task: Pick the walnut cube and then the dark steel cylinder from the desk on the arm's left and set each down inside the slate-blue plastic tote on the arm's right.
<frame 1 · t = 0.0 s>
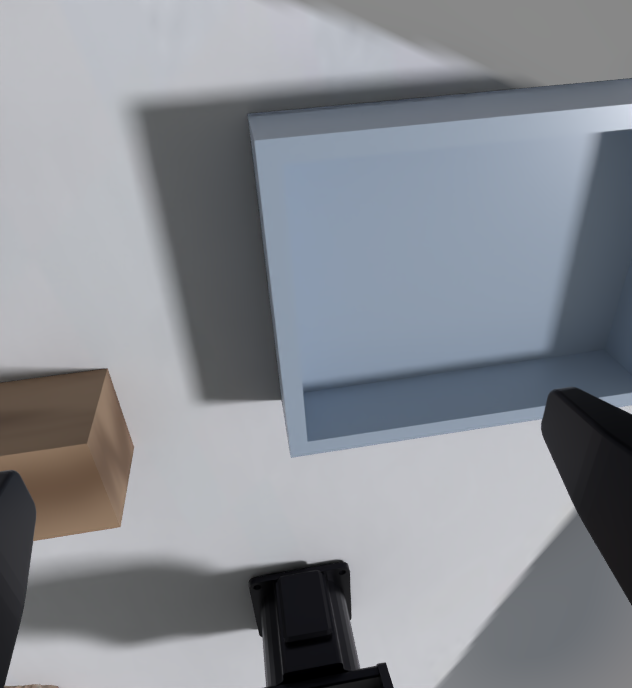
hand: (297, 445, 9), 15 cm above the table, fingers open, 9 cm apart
walnut cube: (68, 416, 26), on the table
tote: (462, 256, 25), on the table
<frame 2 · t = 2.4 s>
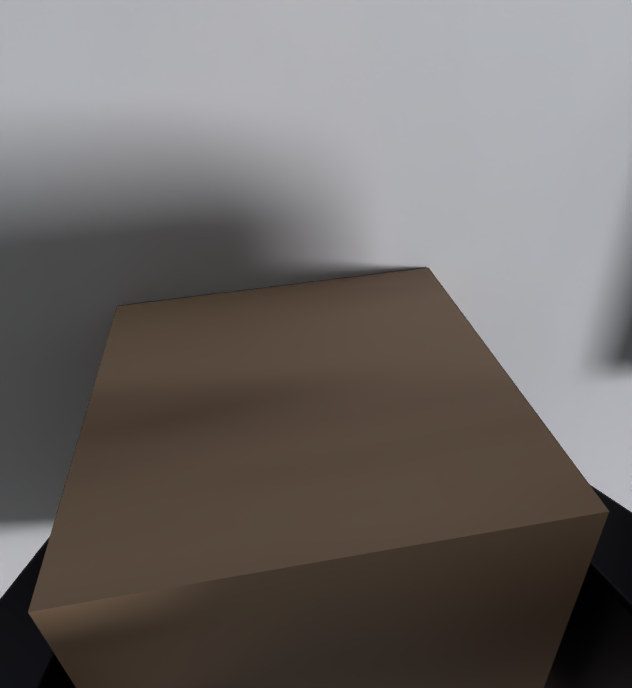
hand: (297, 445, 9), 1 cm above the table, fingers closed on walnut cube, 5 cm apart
walnut cube: (290, 405, 10), on the table, touching gripper
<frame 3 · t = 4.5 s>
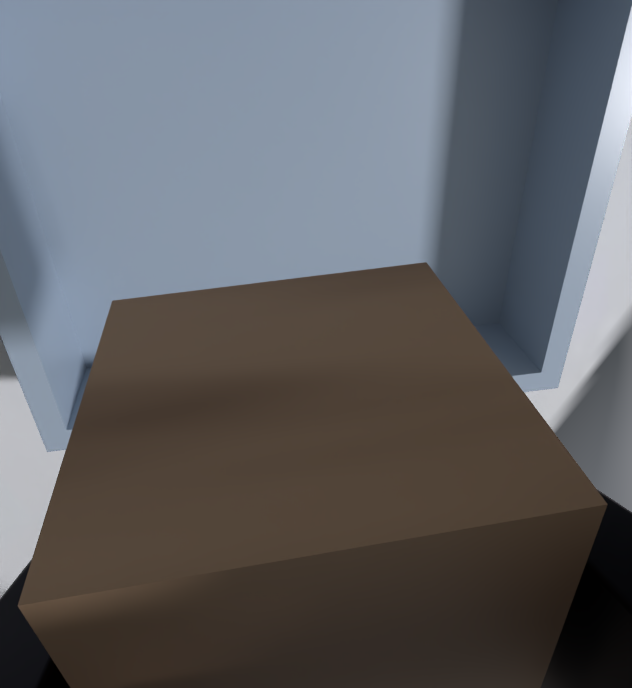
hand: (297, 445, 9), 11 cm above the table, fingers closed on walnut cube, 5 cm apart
walnut cube: (287, 401, 10), point 10 cm above the table, touching gripper
tote: (292, 184, 18), on the table
when the fingers open (4 cm above the table, at t = 6.5 s): walnut cube drops 3 cm, resting on tote.
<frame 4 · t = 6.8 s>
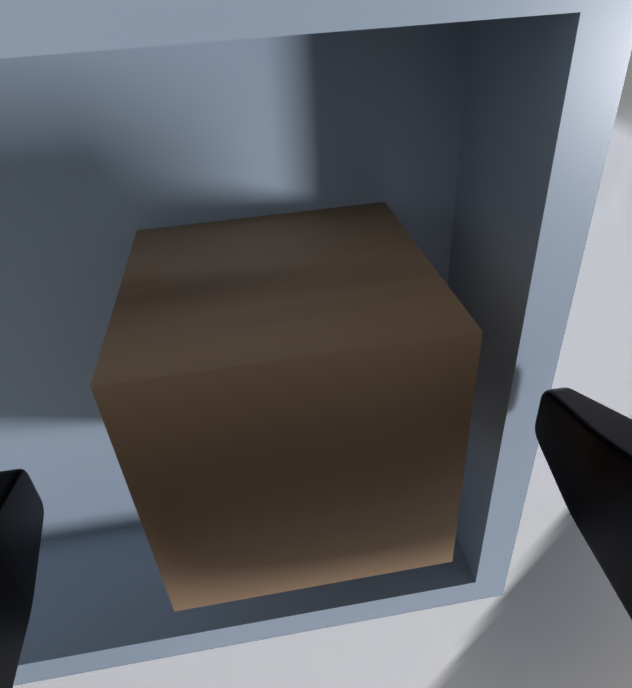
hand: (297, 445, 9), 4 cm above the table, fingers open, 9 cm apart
walnut cube: (275, 321, 12), point 1 cm above the table, touching tote
tote: (101, 333, 13), on the table
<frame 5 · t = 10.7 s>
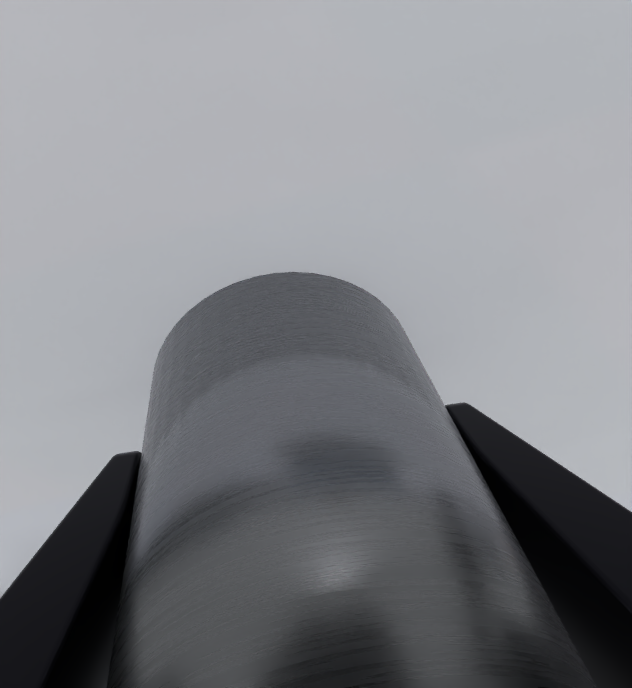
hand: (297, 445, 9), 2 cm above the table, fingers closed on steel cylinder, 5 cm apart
steel cylinder: (287, 389, 11), on the table, touching gripper
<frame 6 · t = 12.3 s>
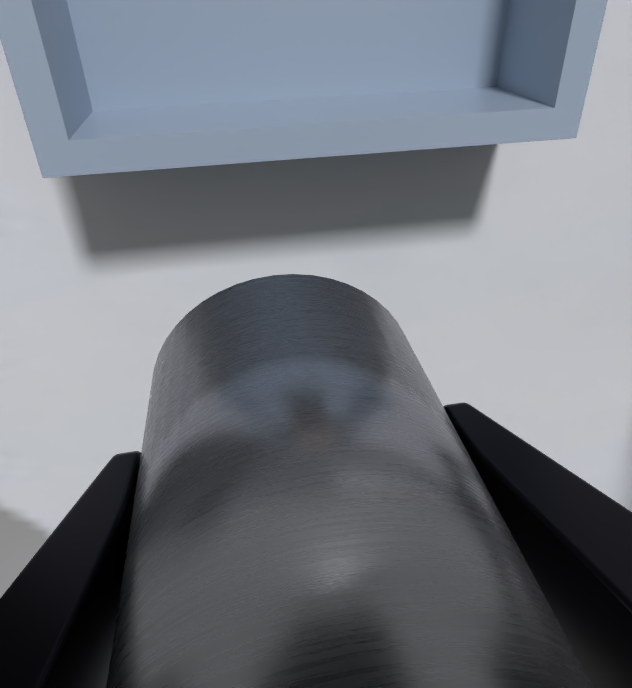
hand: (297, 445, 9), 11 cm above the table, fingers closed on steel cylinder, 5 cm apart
steel cylinder: (286, 391, 11), point 10 cm above the table, touching gripper
when the fingers open (4 cm above the table, at t = 14.4 s): steel cylinder drops 2 cm, resting on tote.
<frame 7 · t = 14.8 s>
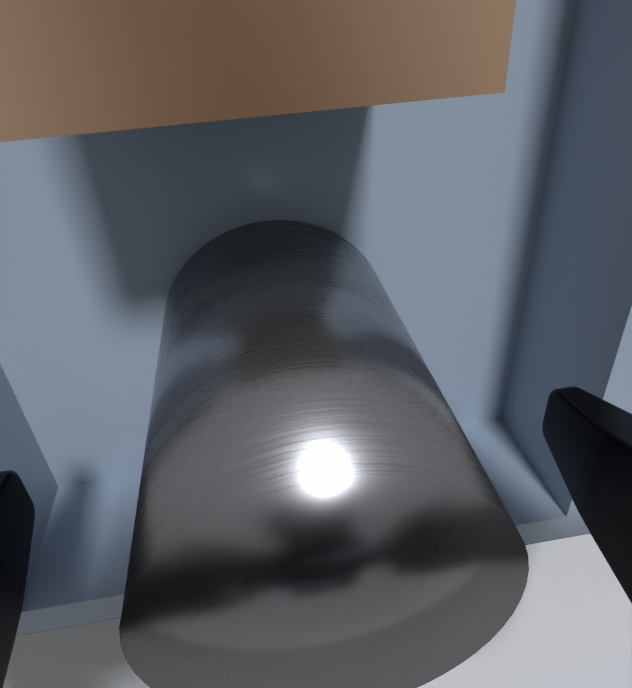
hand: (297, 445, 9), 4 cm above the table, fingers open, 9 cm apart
steel cylinder: (277, 325, 13), point 1 cm above the table, touching tote
tote: (251, 137, 11), on the table
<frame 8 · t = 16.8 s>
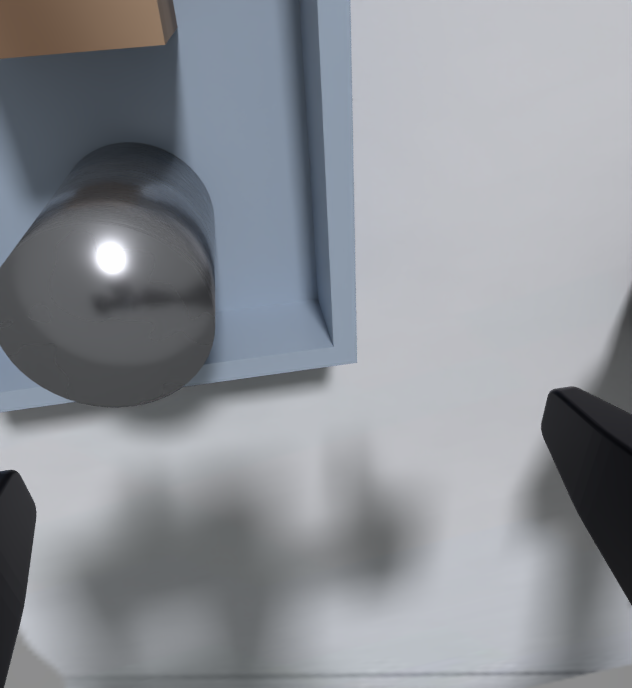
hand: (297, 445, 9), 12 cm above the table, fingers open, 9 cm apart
steel cylinder: (140, 218, 19), point 1 cm above the table, touching tote
tote: (108, 87, 17), on the table
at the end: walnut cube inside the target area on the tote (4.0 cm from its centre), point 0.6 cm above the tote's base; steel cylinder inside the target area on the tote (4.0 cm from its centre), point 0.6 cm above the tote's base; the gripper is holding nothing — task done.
